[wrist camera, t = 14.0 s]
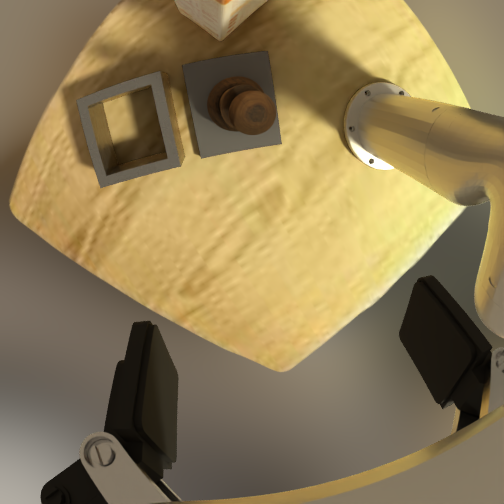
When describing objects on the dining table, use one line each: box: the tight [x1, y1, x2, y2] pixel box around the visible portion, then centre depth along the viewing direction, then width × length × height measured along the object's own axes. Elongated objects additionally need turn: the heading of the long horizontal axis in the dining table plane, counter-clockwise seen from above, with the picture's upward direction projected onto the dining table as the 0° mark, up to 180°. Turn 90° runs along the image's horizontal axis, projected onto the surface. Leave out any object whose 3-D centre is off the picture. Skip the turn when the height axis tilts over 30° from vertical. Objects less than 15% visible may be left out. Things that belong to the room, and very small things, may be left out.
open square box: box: [76, 71, 185, 188], centre depth 30 cm, size 10×11×5 cm
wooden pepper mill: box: [207, 76, 276, 135], centre depth 24 cm, size 7×6×18 cm
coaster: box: [182, 51, 282, 159], centre depth 32 cm, size 10×12×1 cm
